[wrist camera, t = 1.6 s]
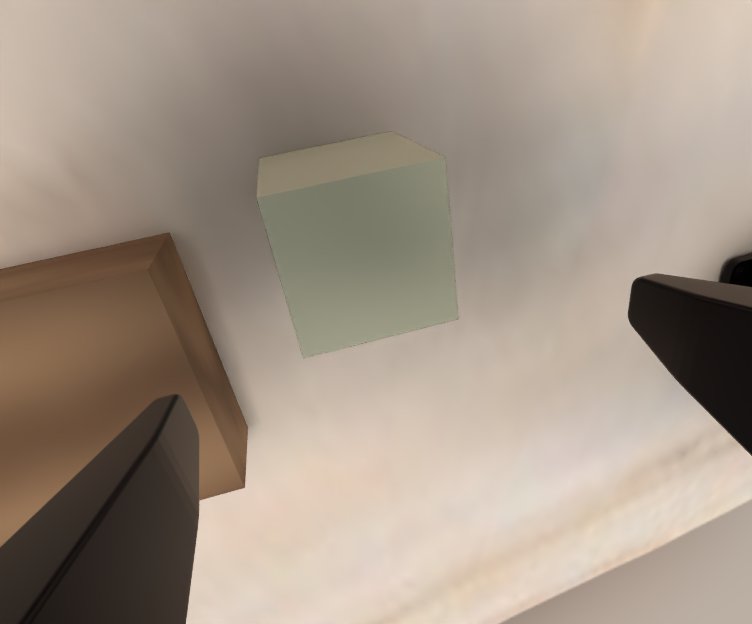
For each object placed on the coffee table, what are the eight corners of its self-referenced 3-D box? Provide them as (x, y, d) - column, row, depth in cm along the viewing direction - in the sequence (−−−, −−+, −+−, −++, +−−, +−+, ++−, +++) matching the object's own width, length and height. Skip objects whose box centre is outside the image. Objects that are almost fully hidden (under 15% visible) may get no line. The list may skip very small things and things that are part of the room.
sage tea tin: (407, 253, 20) (458, 319, 14) (293, 280, 19) (303, 358, 14) (391, 131, 17) (445, 157, 12) (259, 157, 17) (255, 197, 12)
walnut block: (248, 423, 22) (244, 487, 19) (34, 479, 21) (-11, 558, 18) (171, 229, 18) (147, 269, 14) (-112, 290, 16) (-213, 349, 13)
